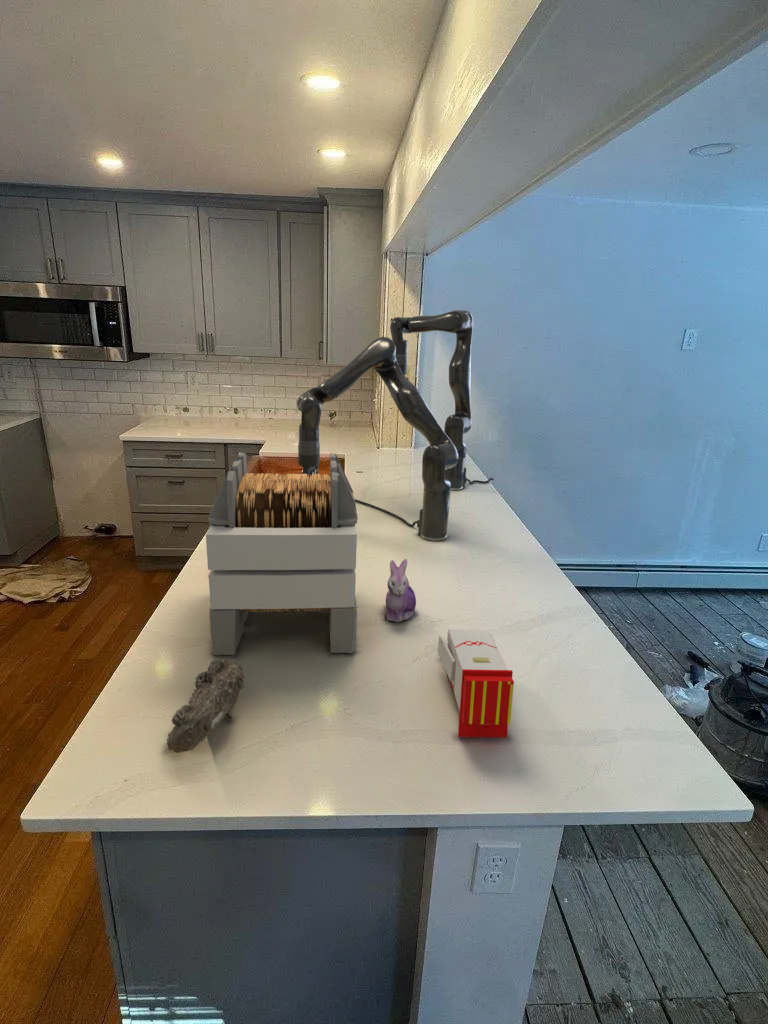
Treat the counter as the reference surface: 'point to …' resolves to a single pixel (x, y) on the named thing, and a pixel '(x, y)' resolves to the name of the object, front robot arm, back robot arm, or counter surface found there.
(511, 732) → the counter surface
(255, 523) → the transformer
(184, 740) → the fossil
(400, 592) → the figurine
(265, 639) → the counter surface
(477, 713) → the toy
